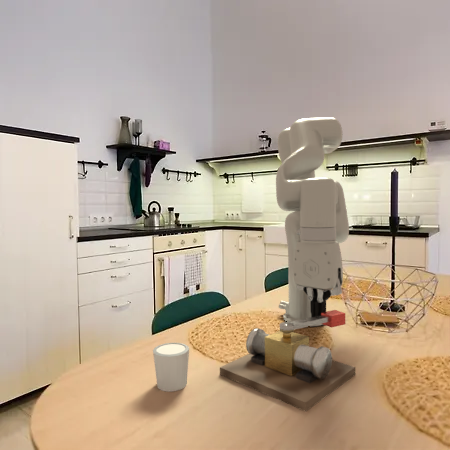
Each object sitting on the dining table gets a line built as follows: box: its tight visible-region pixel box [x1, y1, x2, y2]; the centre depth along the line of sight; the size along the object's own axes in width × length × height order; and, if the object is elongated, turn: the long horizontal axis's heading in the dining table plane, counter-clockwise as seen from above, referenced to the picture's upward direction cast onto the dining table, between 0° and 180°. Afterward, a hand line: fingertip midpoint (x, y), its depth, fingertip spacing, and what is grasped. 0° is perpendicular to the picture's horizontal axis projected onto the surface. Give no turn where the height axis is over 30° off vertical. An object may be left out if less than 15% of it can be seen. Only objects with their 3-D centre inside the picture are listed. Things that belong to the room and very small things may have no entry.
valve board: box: [219, 353, 356, 412], centre depth 77 cm, size 20×18×2 cm
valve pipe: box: [245, 327, 333, 383], centre depth 76 cm, size 17×6×7 cm, turn 46°
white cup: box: [152, 342, 190, 393], centre depth 73 cm, size 7×7×7 cm
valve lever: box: [279, 309, 346, 333], centre depth 79 cm, size 3×16×2 cm, turn 119°
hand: (318, 317), depth 85 cm, fingers closed
